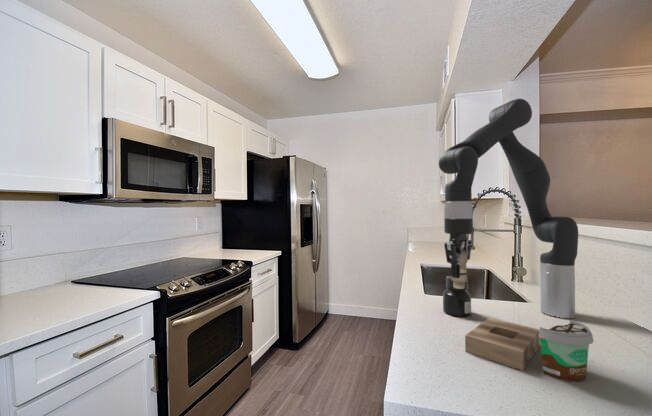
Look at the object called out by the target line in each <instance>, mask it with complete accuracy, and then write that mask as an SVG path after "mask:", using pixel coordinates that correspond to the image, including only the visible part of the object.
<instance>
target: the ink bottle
mask: <svg viewBox="0 0 652 416" xmlns="http://www.w3.org/2000/svg"><path fill="white" fill-rule="evenodd" d="M468 281H469V279H468V278H467V282H465V289H456V288H454V287H453V281H452V280H451V275H447V276H446V277H445V286H446V289H444V290H443V293H442V310H443V312H444V313H445V314H447V315H450V316H454V317H463V318H464V317H469V316H471V315H472V295H471V293H469V291H468V286H469V285H468V284H469V282H468Z"/></svg>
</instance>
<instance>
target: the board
mask: <svg viewBox="0 0 652 416" xmlns="http://www.w3.org/2000/svg"><path fill="white" fill-rule="evenodd" d="M539 330H540V328H536V327H535V328H534V327H532V326H527V325H523V324H518V323H514V322H510V321H506V320H503V319H498V318H494V317H488V318H487V319H486V320H484V321H483V322H481V323H480V324H479V325H478V326H476V327H474V328H473V329H472V330H470V331H468V333H466V334H465V335H464V338H465V343H464V345H465V349H464V350H465V353H467V354H471V355H475V356H477V357H481V358H483V359H486V360H488V361H489V360H490V361H492V360H493V361H492V362H495V361H496V362H495V363H498V362H499V363H498V364H501V363H502V364H501V365H504V364H505V366H507V365H509V366H508V367H510V366H512V367H511V368H513V367H515V368H518V369H520V370H519V371H521V370H523V371H524V370H525V369H526V367H527V366H528V364H529V363H530V362H531V360H532V359H533V357H534V356H535V354H536V353H535V352H537V351H538V350H539V348H541V340H540V337H538V335H539ZM533 355H534V356H533ZM532 356H533V357H532ZM530 359H531V360H530ZM528 362H529V363H528ZM526 365H527V366H526ZM515 368H514V369H515ZM524 368H525V369H524ZM518 369H517V370H518Z"/></svg>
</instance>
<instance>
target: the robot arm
mask: <svg viewBox="0 0 652 416" xmlns="http://www.w3.org/2000/svg"><path fill="white" fill-rule="evenodd" d="M488 114H489V115H488V121H489V122H488V123H486V124H485V125H483V126H481V127H479V128H478V129H477V130H475V131H474V132H472V133H471V134H470V135H469V136H467V137H466V138H465V139H464V140H463V141H461V142H458V143H457V144H454V145H453V146H451V147H449V148H447V149H446V150H445V151H444V152H442V153H441V155H440V157H439V159H438V167H439V169H440V171H442V172H443V173H444V174H447V175H453V174H456V176H455V178H454V179H453V180H451V181H449V182H447V183H446V184H445V188H444V209H443V211H444V212H443V213H444V216H443V217H444V224H443V225H444V231H443V232H444V233H445V234H449V240H448V242H445V243H444V251H445V257H446V263H448V264H450V276H451V277H452V278H460V258H461V257H462V256H463V253H466V264H467V263H468V261H469V260H471V252H472V250H471V249H472V244H473V243H472V240H471V239H468V235H472V234H473V233H474V219H473V217H474V214H473V213H474V209H473V203H472V200H473V199H472V187H473V184H474V180H475V176H476V172H477V169H478V166H479V165H478V164H479V158H481V157H482V156H484V155H485V154H486V153H487V152H488V151H490V149H492V148H493V147H494V146H495V145H496V144H497V143H499V145H500V146H501V148H502V151H503V153H504V155H505V157H506V159H507V161H508V163H509V166H510V168H511V172H512V174H513V177H514V179H515V182H516V184H517V186H518V188H519V190H520V193H521V196H522V198H523V201H524V203H525V207H526V209H527V212H528V216H529V220H530V223H531V226H532V227H531V228H532V231H533V233H534V234H535V236H536V238H537V239H538V240H539V241H541V242H543V243H549V244H552V248H551V250H550V251H547V252H544V253H541V254H540V256H539V258H540V260H539V262H540V263H539V265H540V267H539V268H540V271H539V272H540V274H539V275H540V276H539V277H540V280H539V282H540V312H541V313H542V312H543V313H542V314H544V313H545V315H547V314H548V315H547V316H550V315H551V316H550V317H554V316H556V317H555V318H559V317H560V318H561V319H574V318H576V274H575V273H576V272H575V271H576V270H575V268H576V267H575V266H576V265H575V264H576V262H575V261H576V259H577V256H578V249H579V248H578V247H579V246H578V244H579V227H578V224H577V221H576V220H575V219H573V218H572V217H570V216H569V217H568V216H552V215H551V213H550V210H549V208H548V205H547V197H548V196H547V195H548V192H549V189H550V186H551V177H550V173H549V171H548V168H547V166H546V164H545V162H544V160H543V159H542V158H541V157H540V156H539V155H537V154H536V153H535V152H533V151H532V150H531V149H529V148H527V147H526V146H525V145H523V143H521V142H520V141H519V140H518V138H517V137H516V135H515V133H514V132H515V131H516V130H517V129H519V128H522V127H524V126H526V125H527V124H529V122H530V121H531V120H532V117H533V110H532V106H531V105H530V103H529V101H527V100H526V99H524V98H516V99H512V100H510V101H508V102H506V103H504V104H501V105H499V106H496V107H494V108H493V109H491V110H490V112H489V113H488Z"/></svg>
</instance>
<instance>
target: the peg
mask: <svg viewBox="0 0 652 416" xmlns="http://www.w3.org/2000/svg"><path fill="white" fill-rule="evenodd" d="M467 268H468V267H467V263H466V253H463V256H462V257H461V258H460V278H452V277H451V280H452V281H453V287H454V288H456V289H465V282H467V279H468V277H467V275H468V273H467V270H468V269H467Z"/></svg>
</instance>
